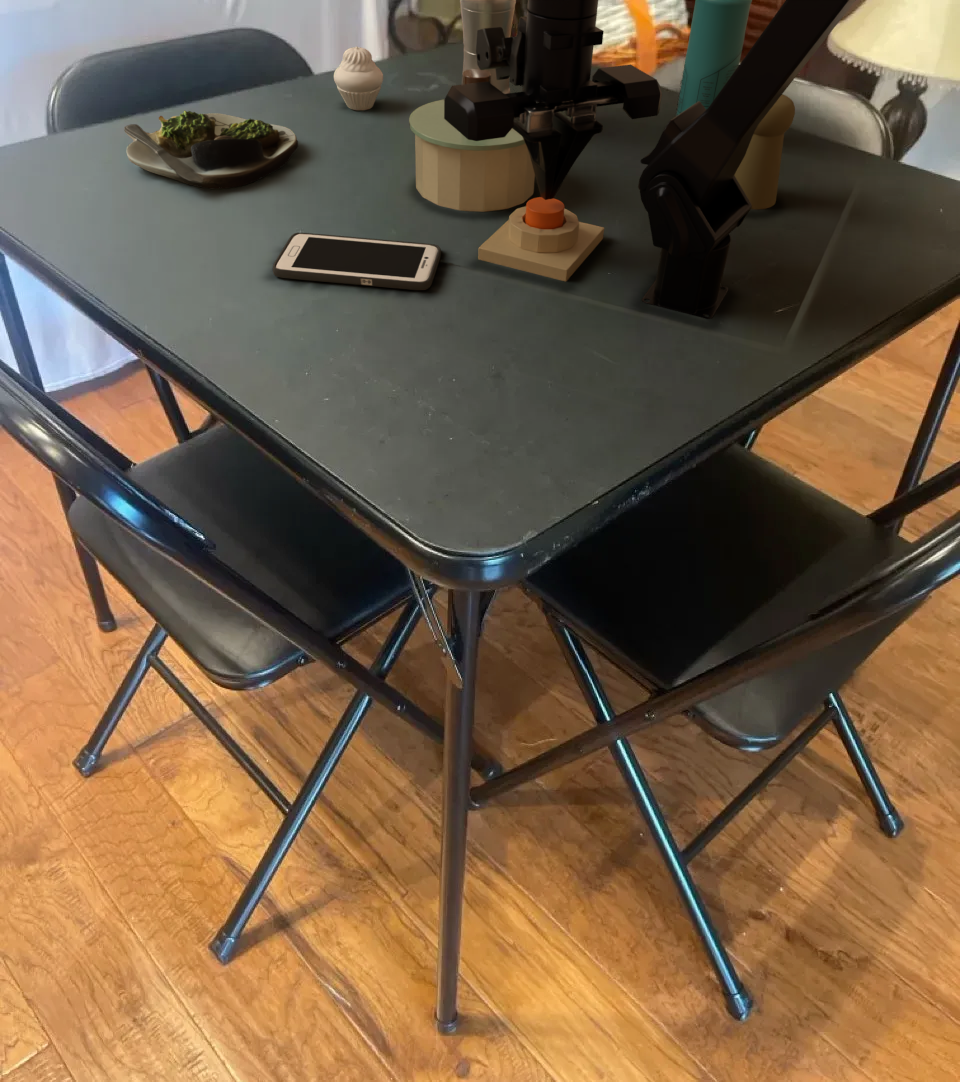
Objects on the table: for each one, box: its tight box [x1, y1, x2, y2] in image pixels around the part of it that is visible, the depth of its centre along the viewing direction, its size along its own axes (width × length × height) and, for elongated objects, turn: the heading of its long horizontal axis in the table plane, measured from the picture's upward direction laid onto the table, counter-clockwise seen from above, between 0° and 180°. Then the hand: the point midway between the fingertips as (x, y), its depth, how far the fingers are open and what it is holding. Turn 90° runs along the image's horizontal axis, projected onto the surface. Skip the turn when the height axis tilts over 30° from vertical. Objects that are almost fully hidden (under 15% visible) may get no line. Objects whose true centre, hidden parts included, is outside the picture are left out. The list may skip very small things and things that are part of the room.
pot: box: [414, 134, 536, 213], centre depth 97 cm, size 13×13×7 cm
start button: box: [525, 196, 566, 229], centre depth 87 cm, size 4×4×2 cm
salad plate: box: [123, 110, 299, 190], centre depth 102 cm, size 19×18×5 cm
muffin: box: [333, 45, 384, 111], centre depth 115 cm, size 6×6×7 cm
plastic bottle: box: [459, 0, 517, 94], centre depth 106 cm, size 6×7×20 cm
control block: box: [477, 205, 605, 282], centre depth 88 cm, size 10×9×4 cm
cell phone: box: [272, 232, 442, 291], centre depth 86 cm, size 8×15×1 cm, turn 83°
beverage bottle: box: [675, 0, 753, 117], centre depth 106 cm, size 6×7×20 cm
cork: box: [734, 93, 796, 210], centre depth 96 cm, size 6×6×11 cm
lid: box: [408, 69, 525, 151], centre depth 93 cm, size 14×14×6 cm
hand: (546, 197), depth 86 cm, fingers closed
